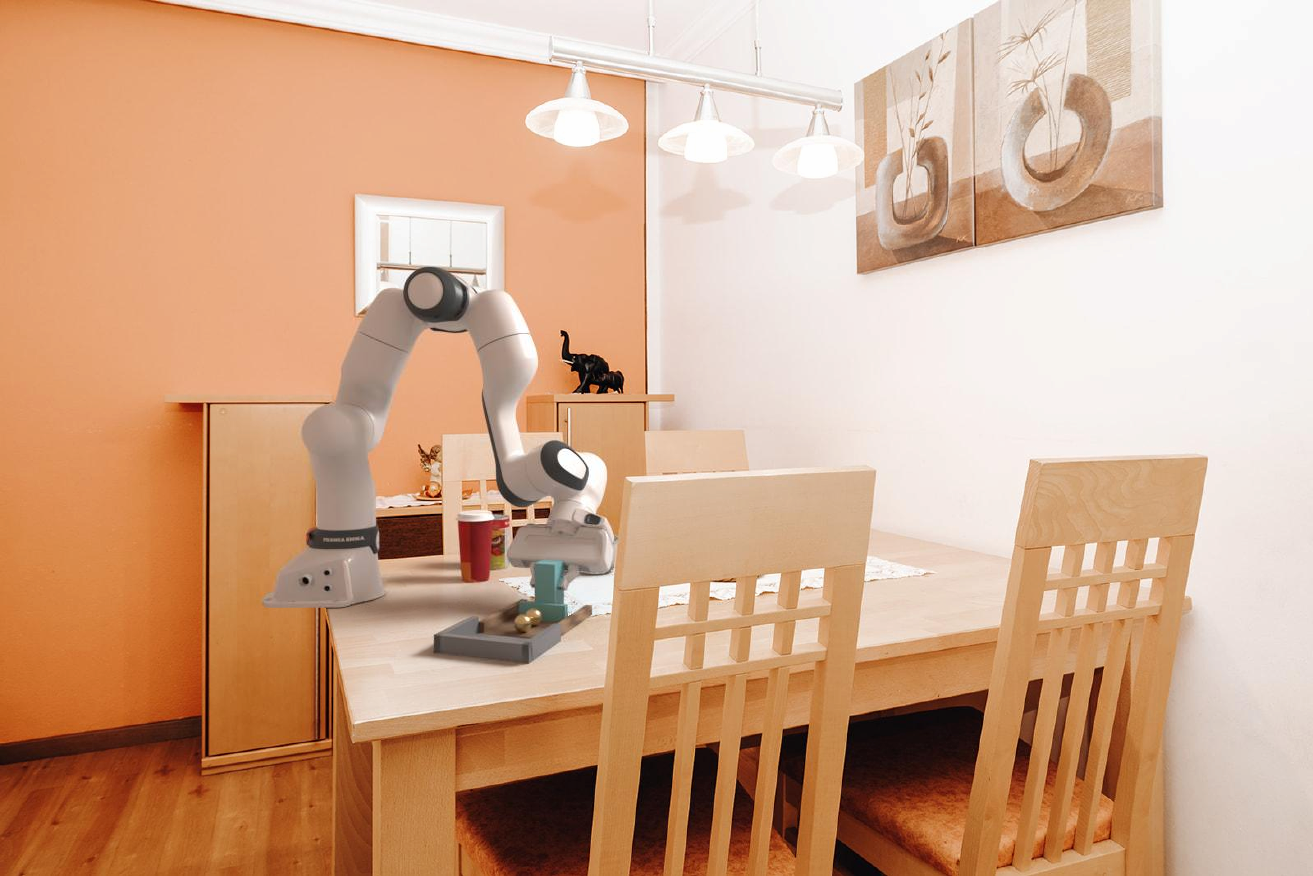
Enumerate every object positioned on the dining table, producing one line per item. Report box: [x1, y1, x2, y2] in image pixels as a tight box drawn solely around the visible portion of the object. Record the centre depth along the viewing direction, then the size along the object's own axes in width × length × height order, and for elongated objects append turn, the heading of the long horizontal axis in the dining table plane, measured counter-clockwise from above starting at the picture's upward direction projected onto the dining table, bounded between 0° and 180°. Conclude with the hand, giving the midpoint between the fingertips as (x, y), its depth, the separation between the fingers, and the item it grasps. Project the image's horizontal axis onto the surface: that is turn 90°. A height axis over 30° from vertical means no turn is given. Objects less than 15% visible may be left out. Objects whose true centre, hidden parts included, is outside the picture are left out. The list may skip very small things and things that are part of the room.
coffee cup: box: [455, 509, 494, 583], centre depth 171 cm, size 8×8×15 cm
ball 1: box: [514, 614, 532, 632], centre depth 131 cm, size 3×3×3 cm
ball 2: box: [525, 608, 542, 626], centre depth 135 cm, size 3×3×3 cm
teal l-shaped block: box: [519, 559, 569, 622], centre depth 141 cm, size 5×9×10 cm, turn 73°
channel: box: [479, 599, 593, 639], centre depth 136 cm, size 17×14×2 cm
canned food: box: [490, 514, 511, 571], centre depth 185 cm, size 8×8×12 cm
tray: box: [433, 615, 562, 665], centre depth 124 cm, size 12×16×3 cm
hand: (547, 587), depth 141 cm, fingers closed on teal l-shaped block, 4 cm apart
